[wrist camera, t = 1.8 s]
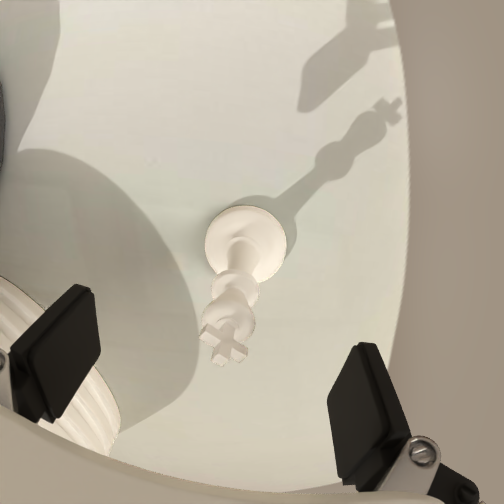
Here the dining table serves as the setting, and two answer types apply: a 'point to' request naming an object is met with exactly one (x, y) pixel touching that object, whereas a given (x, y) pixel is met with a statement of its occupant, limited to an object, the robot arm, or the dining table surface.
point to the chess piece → (238, 276)
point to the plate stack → (87, 396)
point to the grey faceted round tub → (1, 125)
